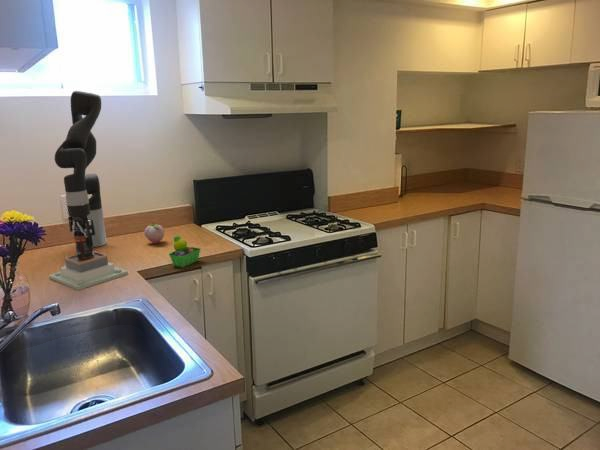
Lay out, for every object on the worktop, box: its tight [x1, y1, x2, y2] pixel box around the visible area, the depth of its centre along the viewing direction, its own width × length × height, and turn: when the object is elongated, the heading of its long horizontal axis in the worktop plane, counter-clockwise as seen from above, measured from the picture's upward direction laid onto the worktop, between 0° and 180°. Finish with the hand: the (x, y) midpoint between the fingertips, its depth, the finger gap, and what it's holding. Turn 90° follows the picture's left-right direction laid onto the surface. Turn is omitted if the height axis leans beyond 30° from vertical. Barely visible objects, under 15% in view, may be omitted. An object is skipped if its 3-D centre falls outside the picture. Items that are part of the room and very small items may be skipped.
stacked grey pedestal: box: [48, 250, 129, 291], centre depth 187 cm, size 22×20×8 cm
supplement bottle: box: [74, 229, 95, 260], centre depth 185 cm, size 6×6×11 cm
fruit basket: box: [168, 235, 201, 268], centre depth 198 cm, size 11×9×11 cm
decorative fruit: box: [144, 222, 166, 244], centre depth 228 cm, size 9×8×10 cm
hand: (84, 244), depth 185 cm, fingers open, 8 cm apart
